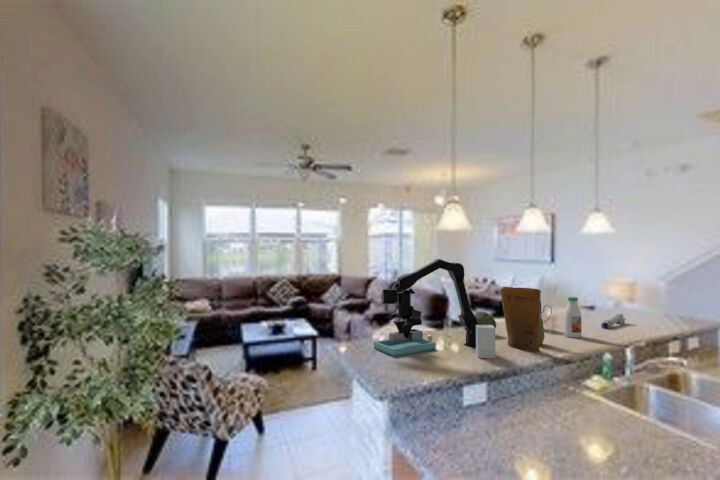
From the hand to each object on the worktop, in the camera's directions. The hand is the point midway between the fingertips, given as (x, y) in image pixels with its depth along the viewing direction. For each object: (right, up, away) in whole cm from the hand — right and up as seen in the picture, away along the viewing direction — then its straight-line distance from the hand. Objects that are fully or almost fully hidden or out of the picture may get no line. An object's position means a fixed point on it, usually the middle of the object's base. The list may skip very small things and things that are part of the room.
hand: (404, 337), depth 191 cm
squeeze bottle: (+63, -5, +7) cm, 63 cm away
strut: (0, -1, 0) cm, 1 cm away
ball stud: (+13, -5, +11) cm, 18 cm away
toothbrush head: (+124, -5, +46) cm, 132 cm away
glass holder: (+78, -5, +39) cm, 87 cm away
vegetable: (+44, -5, +30) cm, 54 cm away
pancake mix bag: (+53, -5, -1) cm, 54 cm away
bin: (0, -5, 0) cm, 5 cm away
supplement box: (+33, -5, -12) cm, 36 cm away
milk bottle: (+88, -5, +22) cm, 91 cm away
